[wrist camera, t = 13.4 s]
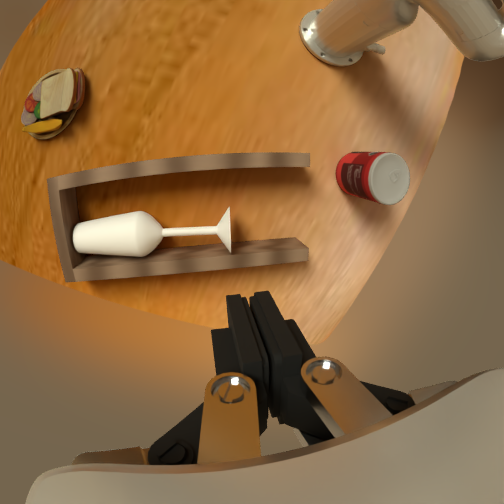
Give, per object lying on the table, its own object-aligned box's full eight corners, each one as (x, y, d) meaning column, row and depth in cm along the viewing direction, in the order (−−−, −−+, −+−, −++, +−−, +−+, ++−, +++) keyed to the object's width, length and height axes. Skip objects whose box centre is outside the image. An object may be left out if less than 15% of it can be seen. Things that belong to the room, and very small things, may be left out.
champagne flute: (229, 232, 43) (93, 239, 41) (229, 196, 39) (81, 208, 37) (231, 263, 39) (80, 268, 36) (230, 225, 34) (64, 235, 32)
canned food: (377, 170, 45) (417, 176, 35) (354, 203, 46) (392, 216, 36) (351, 142, 42) (390, 141, 32) (326, 176, 44) (361, 182, 33)
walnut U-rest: (295, 153, 41) (309, 153, 36) (295, 248, 47) (308, 260, 41) (64, 175, 35) (47, 178, 29) (79, 268, 40) (65, 282, 35)
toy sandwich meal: (33, 77, 27) (20, 72, 23) (94, 64, 30) (84, 55, 26) (23, 143, 31) (8, 143, 27) (83, 135, 34) (71, 132, 29)
